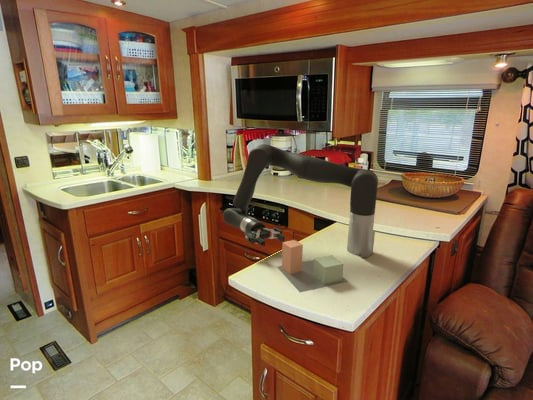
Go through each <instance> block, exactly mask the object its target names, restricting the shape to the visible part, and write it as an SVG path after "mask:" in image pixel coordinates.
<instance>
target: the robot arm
mask: <svg viewBox="0 0 533 400" xmlns="http://www.w3.org/2000/svg"><path fill="white" fill-rule="evenodd" d="M269 166H272V167H277V168H282V169H285V170H287V171H288V172H290V173H291V174H293V175H294V176H297V177H298V178H300V179H303V180H306V181H311V182H314V183H323V184H337V185H338V184H339V185H343V186H346V187H350V197H349V198H350V199H349V200H350V201H349V206H350V207H349V221H348V234H347V244H346V245H347V246H346V251H347V252H348V253H350V254H352V255H353V256H354V255H355V256H358V257H360V258H361V259H363V258H368V257H370V256H371V255H373V253H374V245H375V235H376V232H375V231H374V226H375V216H376V215H375V214H376V205H377V194H378V186H379V179H378V175H377V174H376V173H375V172H373V171H372V170H370V169H364V168H358V167H352V166H350V167H349V166H347V165H346V166H344V165H342V164H339V163H337V162H332V161H329V160H326V159H322V158H318V157H315V156H311V155H306V154H301V153H296V152H292V151H291V152H290V151H288V150H284V149H281V148H278V147H277V146H276V147H275V146H272V145H270V144H267V143H260V144H258V145H257V146H255V147H253V148H252V149H251V150H250V151H249V153H248V156H247V160H246V165H245V169H244V173H243V175H242V179H241V182H240V184H239V186H238V187H237V188H238V189H237V191H236V192H235V195H234V198H233V201H232V203H233V206H234V207H230V208H229V207H228V208H226V209H224V211H223V213H222V220H223V222H224V223H225V224H226V225H229V226H231V227H233V228H236V229H237V228H238V229H239V230H240V231H241V232H243V233H244V234H245V240H246V241H247V242H248V243H250V245H255V244H256V245H259V246H262V247H266V241H265V240H266V239H269V240H273V239H277V240H278V241H280V242H281V243H283V242H285V238H286V237H285V236H284V235H283V234H284V233H283V230H281V229H279V228H277V227H275V226H273V227H272V228H268V227H267V226H266V225H265V224H264V223H263V222H262V221H260V220H259V219H256V218H255V217H252V216H250V215H249V214H248V210H249V205H250V203H251V201H252V199H253V196H254V194H255V190H256V187H257V182H258V179H259V178H260V175H261V174H262V172H263V171H264V170H265V168H267V167H269ZM235 207H236V208H235Z"/></svg>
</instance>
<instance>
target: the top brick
mask: <svg viewBox="0 0 533 400" xmlns="http://www.w3.org/2000/svg"><path fill="white" fill-rule="evenodd" d="M281 243H282V244H281V245H282V246H281V247H282V249H281V252H282V253H281V266H282V269H283V270H284V271H286V272H287V273H289V274H294V273H297V272H300V271H302V262H303V247H304V244H303V243H301V242H299V241H298V240H296V239H291V240H288V241H284V242H281Z"/></svg>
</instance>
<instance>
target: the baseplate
mask: <svg viewBox="0 0 533 400" xmlns="http://www.w3.org/2000/svg"><path fill="white" fill-rule="evenodd" d="M276 268H277V269H278V270H279V271H280V273H282V275H283V276H285V278H286V279H287V280H288V281H289V282H290V284H291V285H292V286H293V287H294V288H295V289H296V290H297V291H298V292H299V293H302V292H307V291H311V290H316V289H321V288H325V287H330V286H335V285H339V284H344V283H348V282H349V280H347V279H346V278H345V277H344V276H342V280H341V281H336V282H331V283H327V284H323V283H322V282H321V281H320V280H319V279H318V278H317V277H316V276H315V275H313V268H314V259H311V260H306V261H302V271H300V272H297V273H294V274H289V273H287V272H286V271H284V270H283V269H282V265H279V266H276Z"/></svg>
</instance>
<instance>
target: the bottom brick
mask: <svg viewBox="0 0 533 400" xmlns="http://www.w3.org/2000/svg"><path fill="white" fill-rule="evenodd" d="M313 260H314V268H313V275H315V276H316V277H317V278H318V279H319V280H320V281H321V282H322V283H323V284H327V283H331V282H336V281H341V280H342V277H343V273H344V263H343V262H342V261H340V259H337V258H336V257H335V256H334V255H332V254H330V255H325V256H320V257H319V256H318V257H314V258H313Z"/></svg>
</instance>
